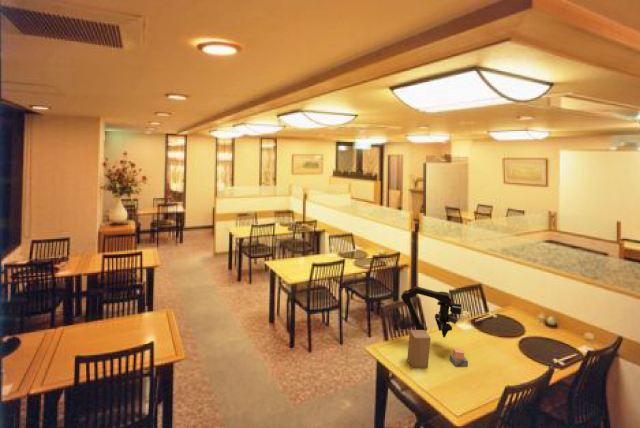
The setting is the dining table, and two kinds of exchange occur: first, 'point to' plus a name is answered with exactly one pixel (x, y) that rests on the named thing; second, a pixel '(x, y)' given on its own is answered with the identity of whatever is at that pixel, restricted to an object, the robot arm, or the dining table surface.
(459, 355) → the terracotta cube
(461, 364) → the charcoal plinth
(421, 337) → the wooden block
